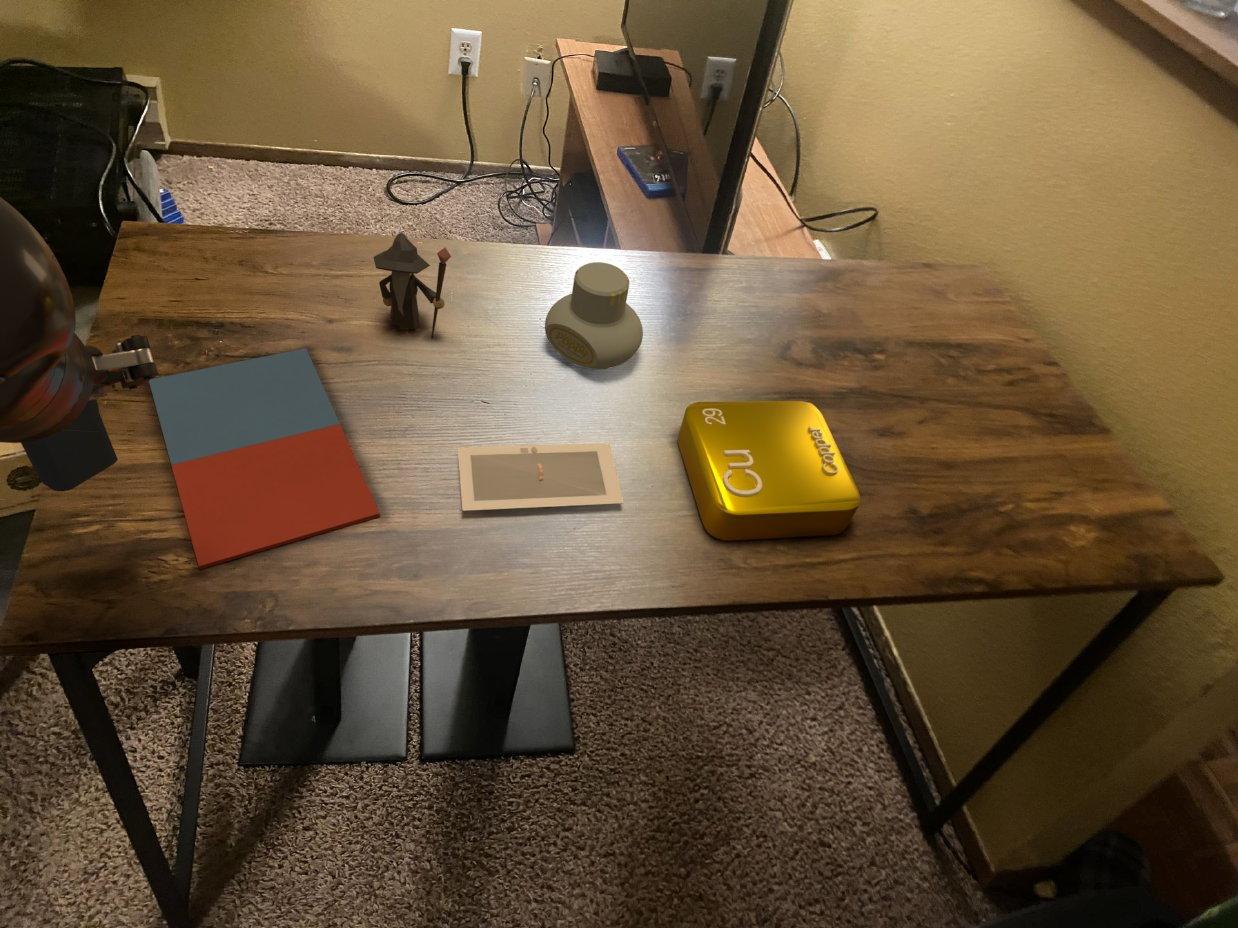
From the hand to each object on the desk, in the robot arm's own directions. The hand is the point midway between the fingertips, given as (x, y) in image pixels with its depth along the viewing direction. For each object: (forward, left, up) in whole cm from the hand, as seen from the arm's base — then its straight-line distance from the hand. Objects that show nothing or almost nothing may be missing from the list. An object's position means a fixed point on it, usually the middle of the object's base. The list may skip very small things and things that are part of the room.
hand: (50, 390), depth 57 cm
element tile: (+56, -15, -17) cm, 60 cm away
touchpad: (+35, -7, -17) cm, 40 cm away
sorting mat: (+13, +7, -17) cm, 22 cm away
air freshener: (+49, +9, -17) cm, 53 cm away
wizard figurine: (+32, +19, -17) cm, 41 cm away
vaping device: (0, -2, -6) cm, 7 cm away
